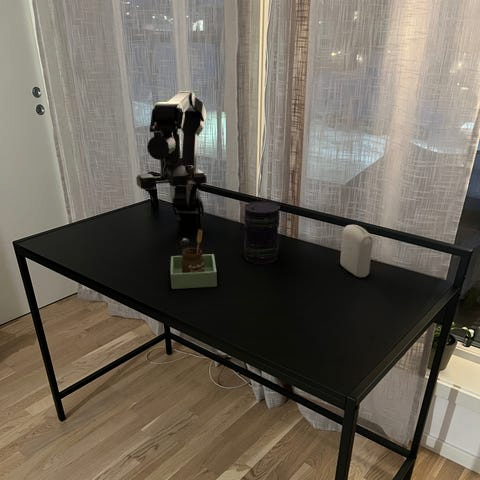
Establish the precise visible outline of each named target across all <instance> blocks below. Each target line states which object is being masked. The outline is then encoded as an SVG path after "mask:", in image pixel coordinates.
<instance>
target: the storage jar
mask: <svg viewBox="0 0 480 480" xmlns="http://www.w3.org/2000/svg"><path fill="white" fill-rule="evenodd" d="M243 221H244V222H243V225H244V229H245V232H244V233H245V234H244V235H245V237H244V239H243V240H244V241H243V242H244V245H243V249H244V259H245V260H246V261H247V262H249V263H253V264H260V265H261V264H270V263H273V262H276V261H277V260H278V257H279V254H278V253H279V242H280V240H279V236H278V234H279V227H280V204H278V203H275V202H272V201H266V200H263V201H262V200H260V201H259V200H257V201H252V202H248V203H246V204H245V205H244V215H243Z"/></svg>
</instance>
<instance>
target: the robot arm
mask: <svg viewBox="0 0 480 480" xmlns="http://www.w3.org/2000/svg"><path fill="white" fill-rule="evenodd" d="M151 109H152V110H151V116H150V122H149V123H150V124H149V133H153V137H151V138H149V140H148V142H147V145H146V147H147V148H146V149H147V153H148V154H149V156H150V157H152V159H154V160H157V161H159V163H160V171H159V175H160V176H154V175H153V174H151V173H143V174H137V176H136V179H135V180H136V186H138V187H139V189H141V190H144V191H145V192H146V193H148V195H149V197H150V199H151V201H152V203H153V206H154V208H155V210H156V212H160V205H159V199H158V188H157V187H156V185H159V184H160V185H161V184H168V183H169V185H170V186H171V187H174V195H173V196H172V207H173V213H174V215H175V216H178V217H177V229H178V231H179V233H180V234H182V236H184V237H186V236H192V235H193V236H194V235H198V230H201V231H203V230H202V225H201V223H202V222H201V216H202V215H205V204H204V201H203V200H202V198H201V194H200V193H201V192H200V190H199V187H202V186H203V184H207V174H206V173H205V172H204V171H202V170H200V169H197V161H198V160H197V158H198V140H199V136H200V134H201V133H202V131H203V130H204V128H205V127H204V126H205V122H206V120H207V111H206V110H207V109H206V107H205V105H204V102H202V100H200V99H199V98H197V97H196V95H195V93H194V92H193V91H190V90H179V91H177V92H175V95H174V96H173V97H172V98H170V99H169V100H168V101H162V102H161V101H160V102H155V104H154V106H153V107H152V108H151ZM181 131H182V134H183V135H182V147H181ZM181 148H182V149H181ZM181 150H182V151H181ZM203 233H204V231H203V232H202V234H203ZM199 234H200V231H199Z"/></svg>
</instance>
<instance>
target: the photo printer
mask: <svg viewBox="0 0 480 480" xmlns="http://www.w3.org/2000/svg"><path fill="white" fill-rule="evenodd" d="M373 241H374V240H373V237H372V236H371V234H370V233H369V231H367V230H366V228H364V227H362V226H360V225H357V224H348V225H346V226H345V227H344V228H343V230H342V236H341V248H340V258H339V260H340V261H339V262H340V263H339V264H340V266H341V267H342V268H344V269H345V270H346V271H348V272H349V273H351V275H354V276H355V277H358V278H365V277H367V276H368V275H369V274H370V269H371V268H370V267H371V261H372V260H371V259H372V253H373V252H372V251H373Z"/></svg>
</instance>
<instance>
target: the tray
mask: <svg viewBox="0 0 480 480" xmlns="http://www.w3.org/2000/svg"><path fill="white" fill-rule="evenodd" d="M202 257H203V259H204V272H193V273H182V258H183V256H182V255H171V256H170V274H169V275H170V285H171V286H170V287H171V290H177V289H193V288H194V289H195V288H213V287H218V279H217V278H218V276H217V275H218V273H217V267H216V260H215V253H211V254H207V253H206V254H202Z"/></svg>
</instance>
